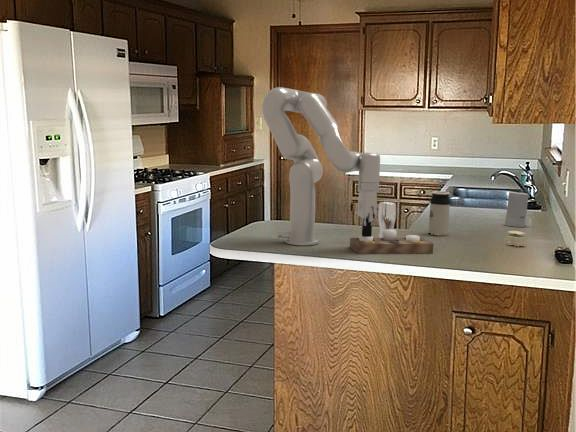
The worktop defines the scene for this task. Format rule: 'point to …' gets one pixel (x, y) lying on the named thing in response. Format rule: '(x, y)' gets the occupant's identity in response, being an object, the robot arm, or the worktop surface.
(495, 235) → the worktop surface
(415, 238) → the button right
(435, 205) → the travel mug
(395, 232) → the button middle
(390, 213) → the beer glass
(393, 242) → the button board
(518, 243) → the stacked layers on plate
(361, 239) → the button left
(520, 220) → the skincare box
